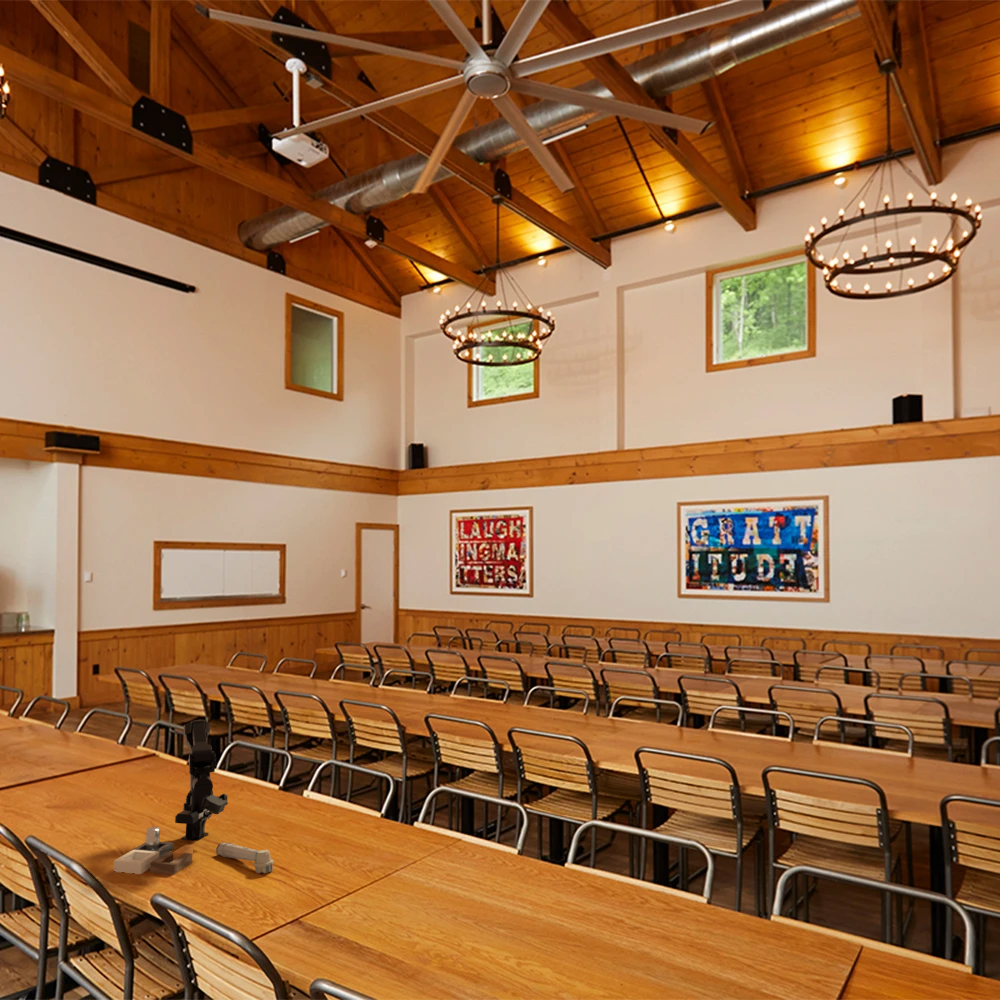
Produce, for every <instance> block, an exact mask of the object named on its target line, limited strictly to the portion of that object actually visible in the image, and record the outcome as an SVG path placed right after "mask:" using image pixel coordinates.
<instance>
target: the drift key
mask: <svg viewBox="0 0 1000 1000" xmlns="http://www.w3.org/2000/svg"><path fill="white" fill-rule="evenodd" d="M172 852H173V860H175V859H176V858H178V857H180V856H181V855H183V854H184V853H192V857H194V844H188V843H187V844H186V843H185V845H183V846H180V848H178V849H176V850H173V851H172Z"/></svg>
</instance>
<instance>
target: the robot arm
mask: <svg viewBox="0 0 1000 1000" xmlns="http://www.w3.org/2000/svg"><path fill="white" fill-rule="evenodd" d="M210 724H211V723H210V721H209V722H208V721H207V720H206V719H196V720H192V721H190V722H188V723H186V724H184V726H183V738H185V744H186V745H187V747H188V749H189V750H190V751H189V754H188V769H189V770H188V773H189V776H190V777H189V778H190V779H189V780H190V782H189V783H190V784H189V785H190V786H189V791H188V793H187V795H186V797H185V799H184V800H185V801H184V803H183V806H182V811H180V812H178V813H177V814H176V815H175V816H174V817H175V818H174V822H175V824H183V825H185V835H184V836H182V837H181V840H185V839H190V840H189V841H201V840H202V839H203V838H205V837H206V835H207V836H208V835H209V832H205V826H206V823H207V820H209V819H210V818H211V817H212V816H213V814H214V815H219V814H220V813H222V812H224V810H225V807H226V806H228V804H229V802H228V801H229V800H228V794H227V793H221V794H220V795H214V791H213V788H214V784H213V782H212V778H211V773H215V772H216V769H217V754H216V753H215V751H213V749H212V748H213V747H212V745H211V744H210V743H208V740H207V739H208V736H209V735H210V733H211V732H210V726H211V725H210ZM204 836H205V837H204ZM201 838H202V839H201Z"/></svg>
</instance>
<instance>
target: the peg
mask: <svg viewBox="0 0 1000 1000" xmlns="http://www.w3.org/2000/svg"><path fill="white" fill-rule="evenodd" d="M160 832H161V827H158V826H152V827H151V826H150V827H148V828H146V831H145V842H146V850H153V851H155V850H157V849H159V841H160V838H161V837H160V836H161V835H160V834H161V833H160ZM160 842H161V841H160Z"/></svg>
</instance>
